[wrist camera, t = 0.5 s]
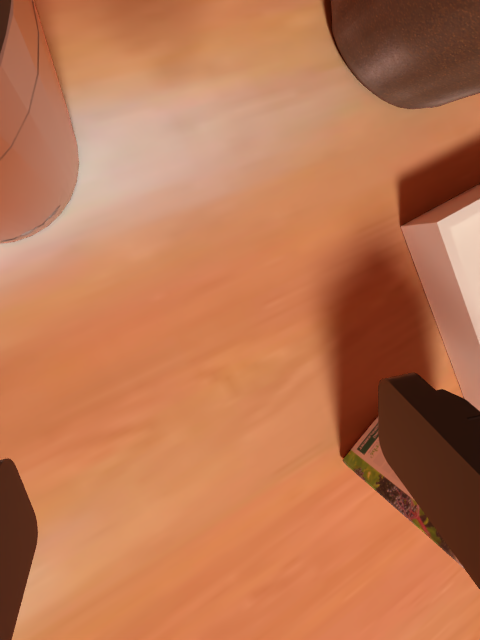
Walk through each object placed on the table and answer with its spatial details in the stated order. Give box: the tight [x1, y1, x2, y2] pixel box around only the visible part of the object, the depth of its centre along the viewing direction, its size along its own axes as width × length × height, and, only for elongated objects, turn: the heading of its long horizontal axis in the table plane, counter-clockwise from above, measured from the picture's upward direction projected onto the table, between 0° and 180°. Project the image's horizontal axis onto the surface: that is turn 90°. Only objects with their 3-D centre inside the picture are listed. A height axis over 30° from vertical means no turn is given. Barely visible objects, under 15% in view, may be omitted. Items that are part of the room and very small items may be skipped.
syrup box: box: [343, 417, 464, 568], centre depth 26 cm, size 6×6×14 cm
